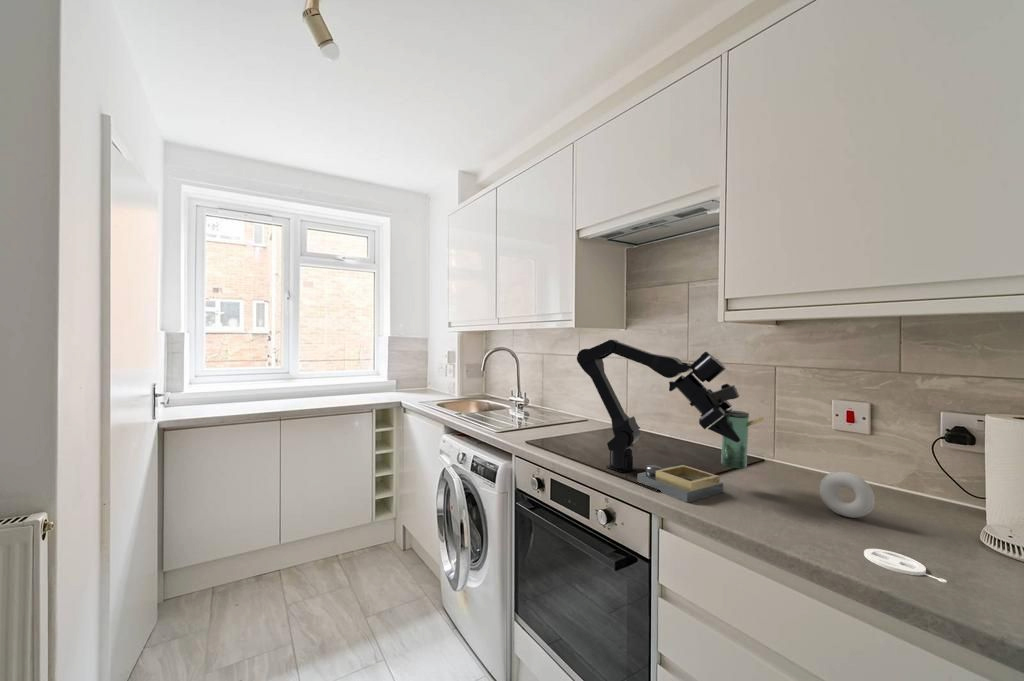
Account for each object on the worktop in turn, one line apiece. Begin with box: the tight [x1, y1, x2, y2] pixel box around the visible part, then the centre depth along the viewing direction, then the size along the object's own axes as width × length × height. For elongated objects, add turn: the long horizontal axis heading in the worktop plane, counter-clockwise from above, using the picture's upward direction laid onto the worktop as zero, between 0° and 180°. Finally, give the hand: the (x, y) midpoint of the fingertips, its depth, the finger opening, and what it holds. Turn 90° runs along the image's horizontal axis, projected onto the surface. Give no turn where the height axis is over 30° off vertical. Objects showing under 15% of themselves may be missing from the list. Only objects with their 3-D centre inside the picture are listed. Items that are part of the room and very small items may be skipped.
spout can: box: [720, 409, 765, 469], centre depth 110 cm, size 10×6×14 cm, turn 57°
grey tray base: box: [636, 464, 724, 503], centre depth 112 cm, size 16×14×4 cm
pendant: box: [863, 548, 948, 584], centre depth 74 cm, size 7×11×1 cm, turn 31°
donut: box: [818, 470, 876, 519], centre depth 94 cm, size 10×4×10 cm, turn 39°
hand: (740, 439), depth 110 cm, fingers closed on spout can, 6 cm apart
